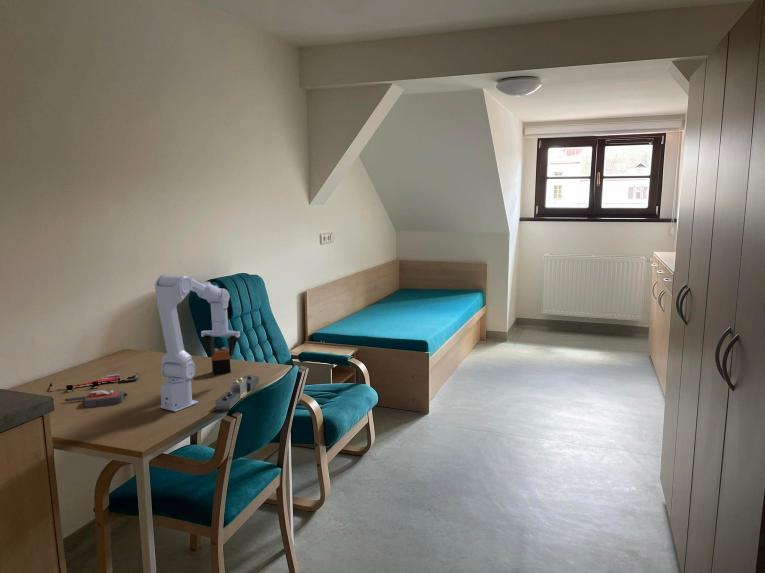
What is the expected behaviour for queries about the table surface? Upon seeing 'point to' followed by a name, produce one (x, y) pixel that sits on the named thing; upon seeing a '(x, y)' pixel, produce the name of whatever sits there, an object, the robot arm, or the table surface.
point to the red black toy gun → (103, 380)
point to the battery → (221, 361)
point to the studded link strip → (235, 394)
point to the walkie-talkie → (100, 398)
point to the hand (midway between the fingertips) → (221, 355)
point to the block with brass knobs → (239, 386)
